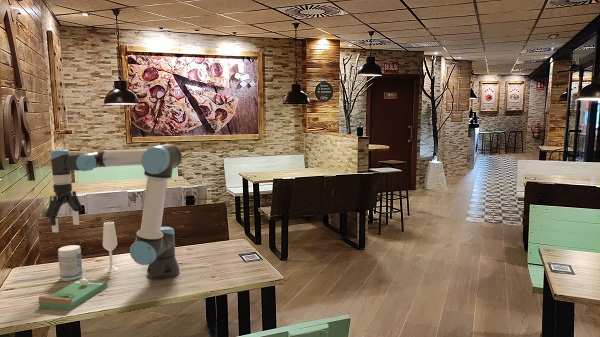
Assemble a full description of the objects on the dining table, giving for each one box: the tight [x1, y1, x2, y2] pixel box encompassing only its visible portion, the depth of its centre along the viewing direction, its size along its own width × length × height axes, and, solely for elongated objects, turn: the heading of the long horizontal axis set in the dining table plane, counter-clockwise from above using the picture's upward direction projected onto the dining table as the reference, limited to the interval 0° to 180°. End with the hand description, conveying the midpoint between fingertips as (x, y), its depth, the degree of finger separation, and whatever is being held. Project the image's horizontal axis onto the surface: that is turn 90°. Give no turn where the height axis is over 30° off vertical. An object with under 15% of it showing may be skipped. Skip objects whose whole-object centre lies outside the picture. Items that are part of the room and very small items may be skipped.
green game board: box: [38, 278, 108, 311], centre depth 186 cm, size 14×24×4 cm, turn 169°
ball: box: [80, 278, 89, 286], centre depth 192 cm, size 3×3×3 cm
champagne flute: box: [102, 221, 120, 273], centre depth 217 cm, size 7×7×24 cm
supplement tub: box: [57, 244, 83, 282], centre depth 207 cm, size 10×10×15 cm
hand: (66, 228), depth 203 cm, fingers open, 13 cm apart
